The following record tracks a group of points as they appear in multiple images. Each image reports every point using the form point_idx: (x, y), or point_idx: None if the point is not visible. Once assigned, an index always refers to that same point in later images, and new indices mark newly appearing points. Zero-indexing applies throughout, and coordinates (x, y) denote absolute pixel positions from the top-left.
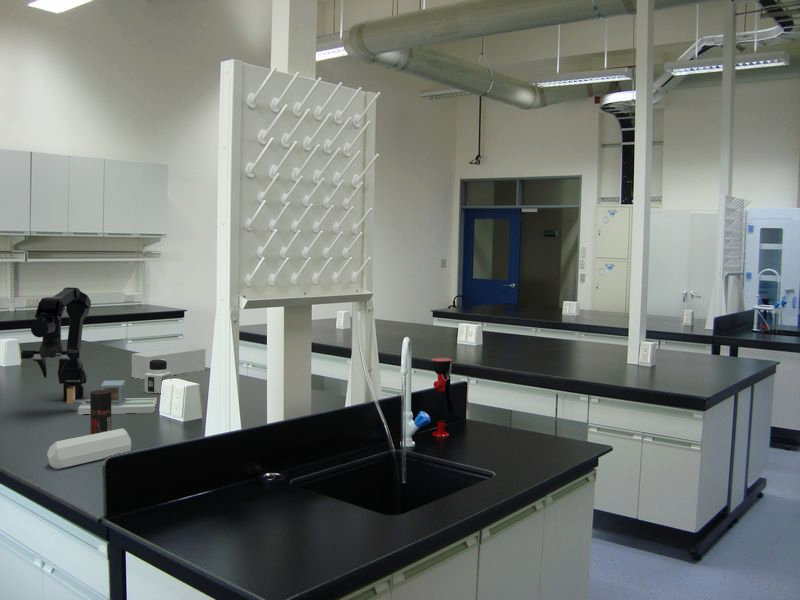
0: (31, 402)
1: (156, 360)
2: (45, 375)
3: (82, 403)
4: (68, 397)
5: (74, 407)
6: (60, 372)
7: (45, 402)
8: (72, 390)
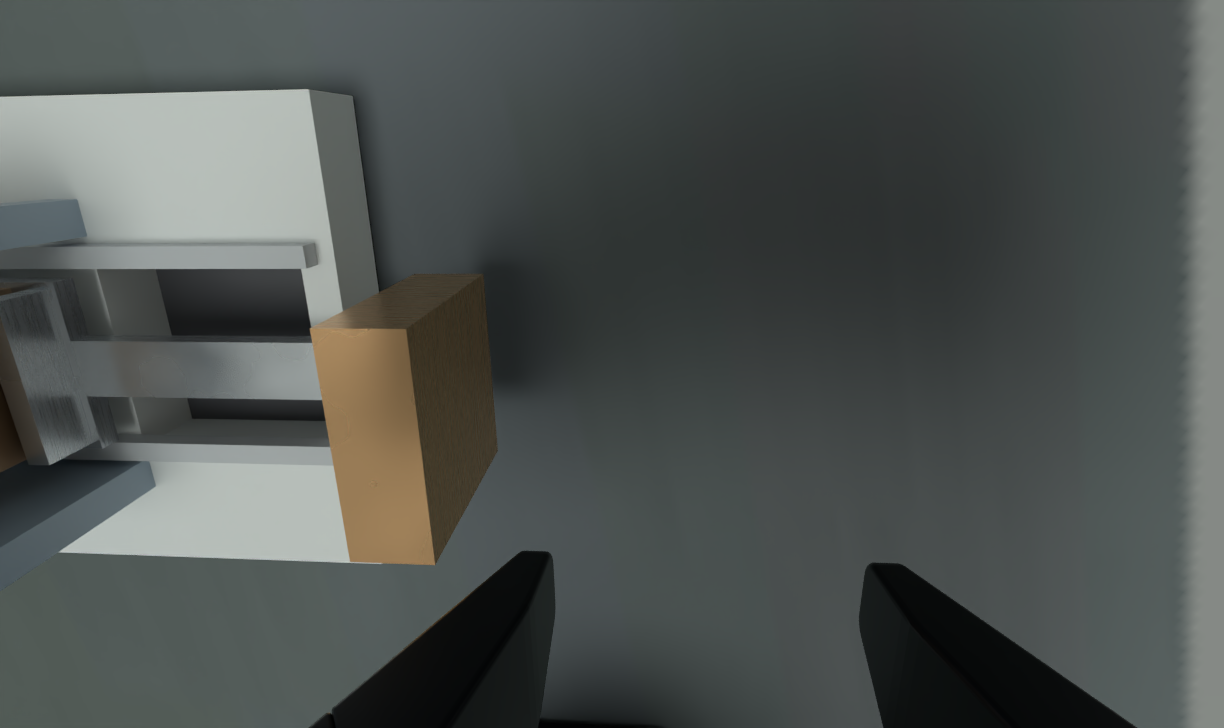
0: None
1: None
2: (893, 595)
3: None
4: (436, 289)
5: (493, 473)
6: (439, 622)
7: (814, 703)
8: (327, 321)
